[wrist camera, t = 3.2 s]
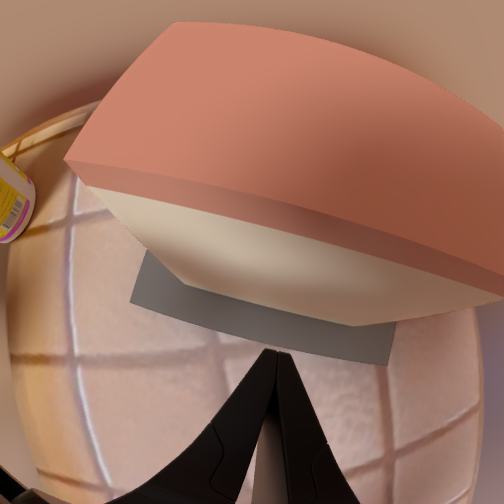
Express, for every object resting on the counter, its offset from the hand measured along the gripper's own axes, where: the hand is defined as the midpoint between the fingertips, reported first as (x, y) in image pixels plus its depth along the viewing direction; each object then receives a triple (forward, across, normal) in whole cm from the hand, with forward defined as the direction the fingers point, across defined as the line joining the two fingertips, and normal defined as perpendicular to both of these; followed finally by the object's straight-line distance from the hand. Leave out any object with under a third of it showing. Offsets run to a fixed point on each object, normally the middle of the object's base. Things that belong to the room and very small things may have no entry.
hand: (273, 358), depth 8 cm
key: (+8, 0, +1) cm, 8 cm away
